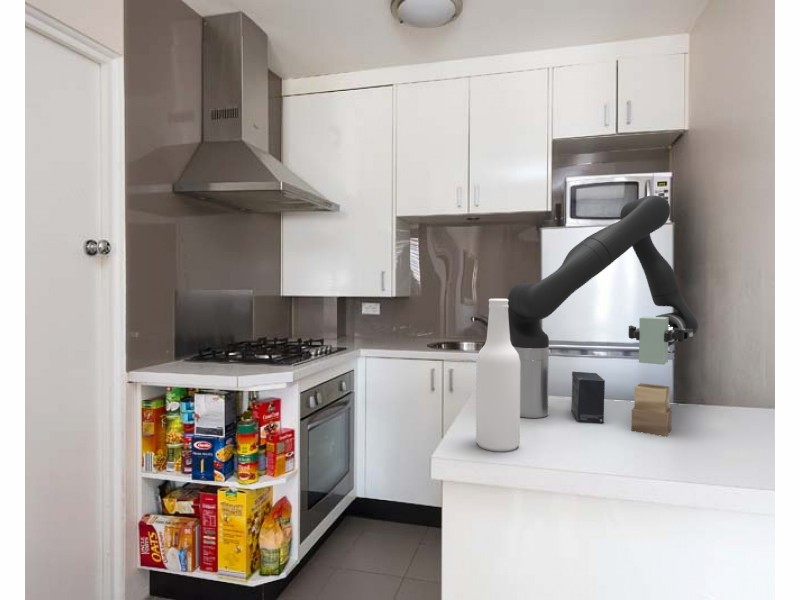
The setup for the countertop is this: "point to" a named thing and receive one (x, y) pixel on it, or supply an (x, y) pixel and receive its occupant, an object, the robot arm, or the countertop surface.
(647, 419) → the walnut block
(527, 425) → the countertop surface
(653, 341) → the sage pillar
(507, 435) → the alcohol
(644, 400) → the oak block
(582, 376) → the small box
